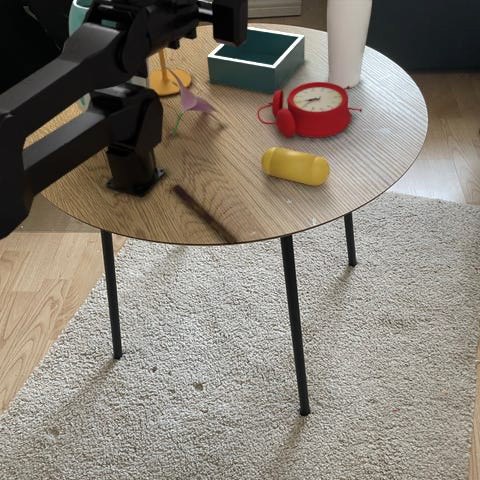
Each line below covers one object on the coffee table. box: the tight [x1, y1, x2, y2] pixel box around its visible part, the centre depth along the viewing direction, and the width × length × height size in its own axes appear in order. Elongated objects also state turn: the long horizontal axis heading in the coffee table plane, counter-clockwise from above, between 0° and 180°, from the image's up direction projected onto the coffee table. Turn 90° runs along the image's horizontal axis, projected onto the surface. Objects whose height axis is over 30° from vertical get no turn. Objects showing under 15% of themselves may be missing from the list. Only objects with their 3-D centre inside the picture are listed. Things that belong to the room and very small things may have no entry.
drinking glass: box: [326, 0, 373, 89], centre depth 95 cm, size 7×7×15 cm
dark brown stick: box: [172, 184, 237, 246], centre depth 80 cm, size 15×1×1 cm
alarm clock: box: [256, 81, 363, 138], centre depth 92 cm, size 10×6×15 cm
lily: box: [160, 63, 224, 136], centre depth 92 cm, size 12×12×10 cm
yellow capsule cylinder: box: [260, 146, 331, 187], centre depth 83 cm, size 4×10×4 cm, turn 63°
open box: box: [206, 26, 306, 95], centre depth 104 cm, size 13×13×5 cm
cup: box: [149, 49, 192, 96], centre depth 98 cm, size 9×9×16 cm
